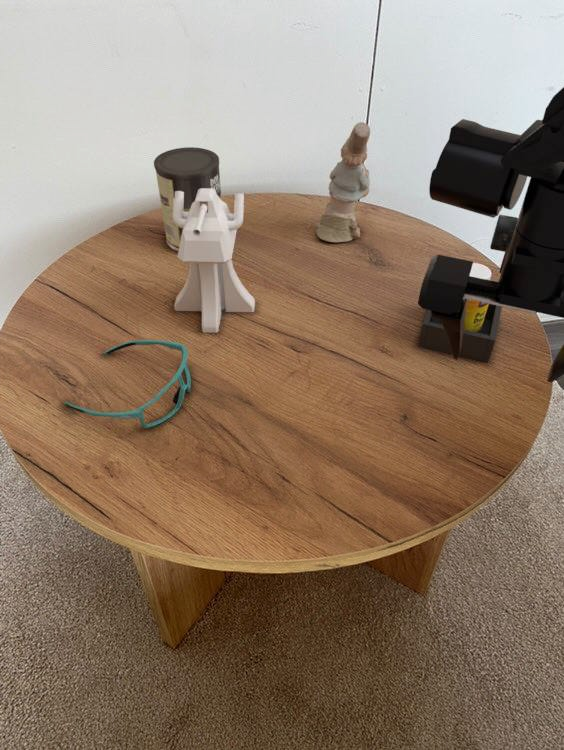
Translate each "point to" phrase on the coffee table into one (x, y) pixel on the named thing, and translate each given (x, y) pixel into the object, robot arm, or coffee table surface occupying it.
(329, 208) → the figurine
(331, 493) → the coffee table surface
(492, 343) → the dark square open box
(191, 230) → the toy gun turret
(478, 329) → the supplement bottle
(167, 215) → the coffee can
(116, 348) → the sunglasses
